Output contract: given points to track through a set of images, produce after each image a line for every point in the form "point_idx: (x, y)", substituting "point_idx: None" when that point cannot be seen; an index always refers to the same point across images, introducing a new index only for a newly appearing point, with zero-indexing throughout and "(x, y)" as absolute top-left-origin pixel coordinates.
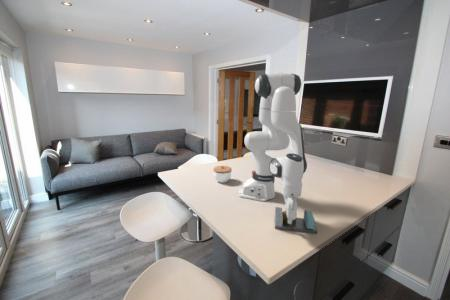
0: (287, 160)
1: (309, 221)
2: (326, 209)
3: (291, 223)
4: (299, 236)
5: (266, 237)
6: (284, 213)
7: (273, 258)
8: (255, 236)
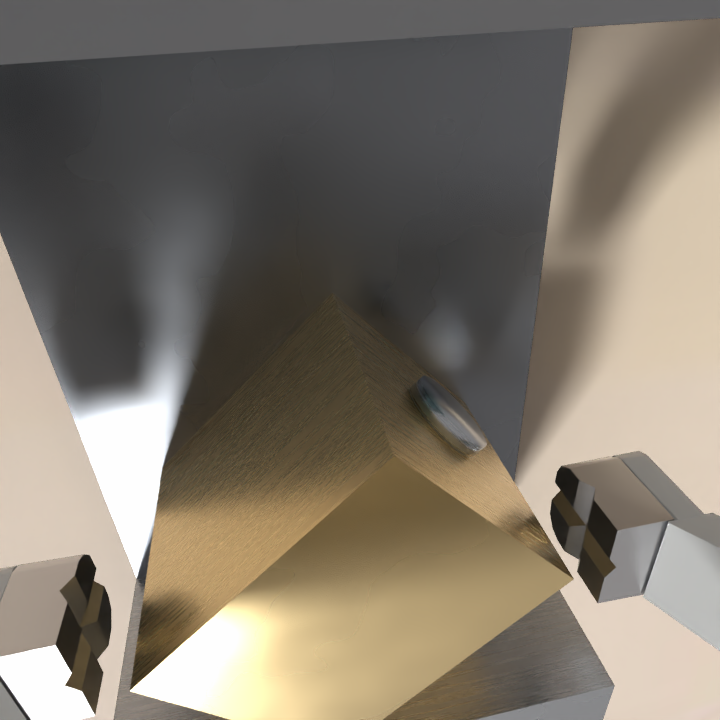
0: None
1: None
2: None
3: (637, 451)
4: (670, 184)
5: None
6: (393, 697)
7: None
8: (647, 649)
